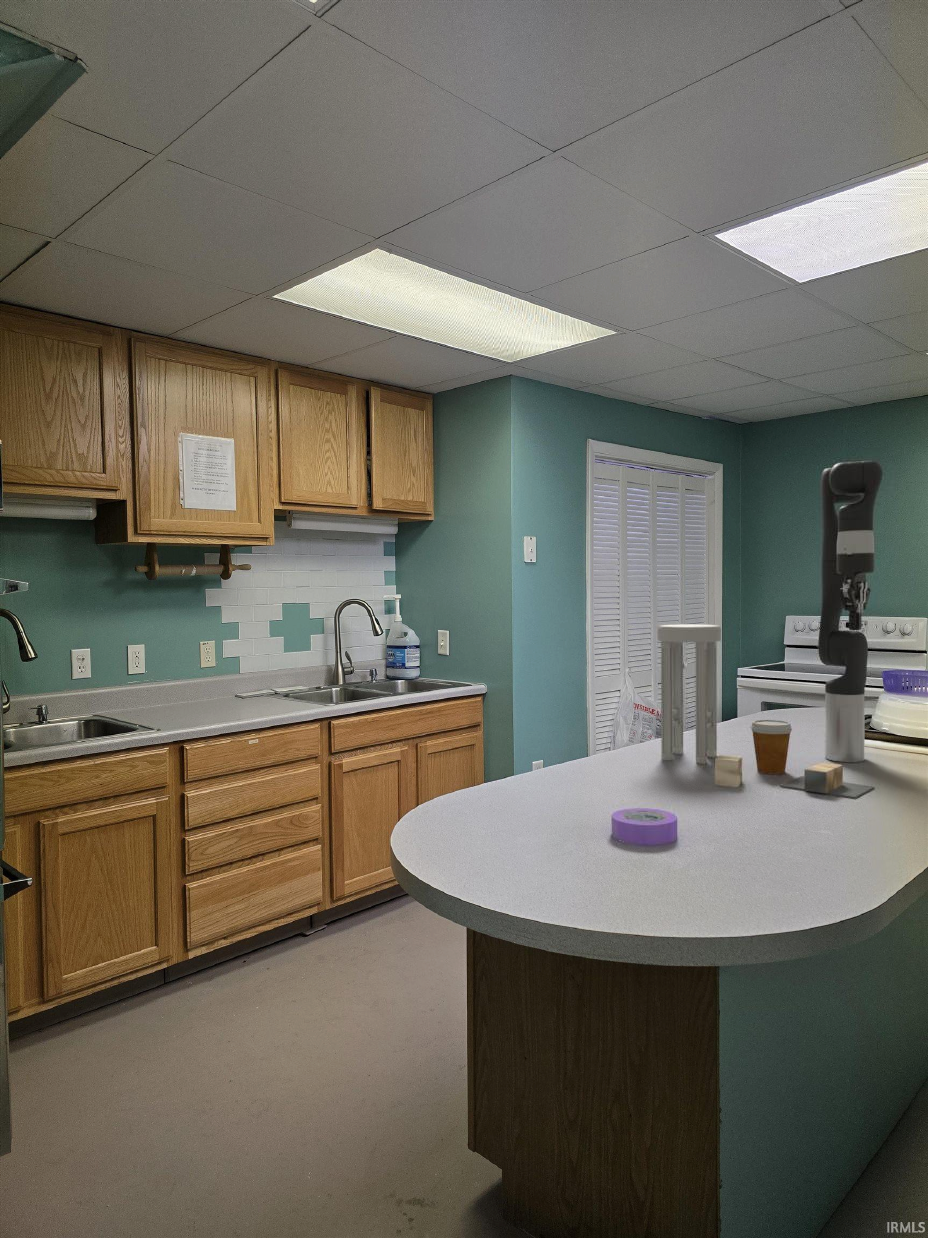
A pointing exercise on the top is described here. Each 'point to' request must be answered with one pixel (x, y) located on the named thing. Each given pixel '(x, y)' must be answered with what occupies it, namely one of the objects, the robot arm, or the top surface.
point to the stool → (673, 688)
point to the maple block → (728, 770)
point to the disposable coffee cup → (771, 745)
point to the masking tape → (644, 826)
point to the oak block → (823, 777)
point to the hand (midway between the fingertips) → (855, 630)
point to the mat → (843, 790)
